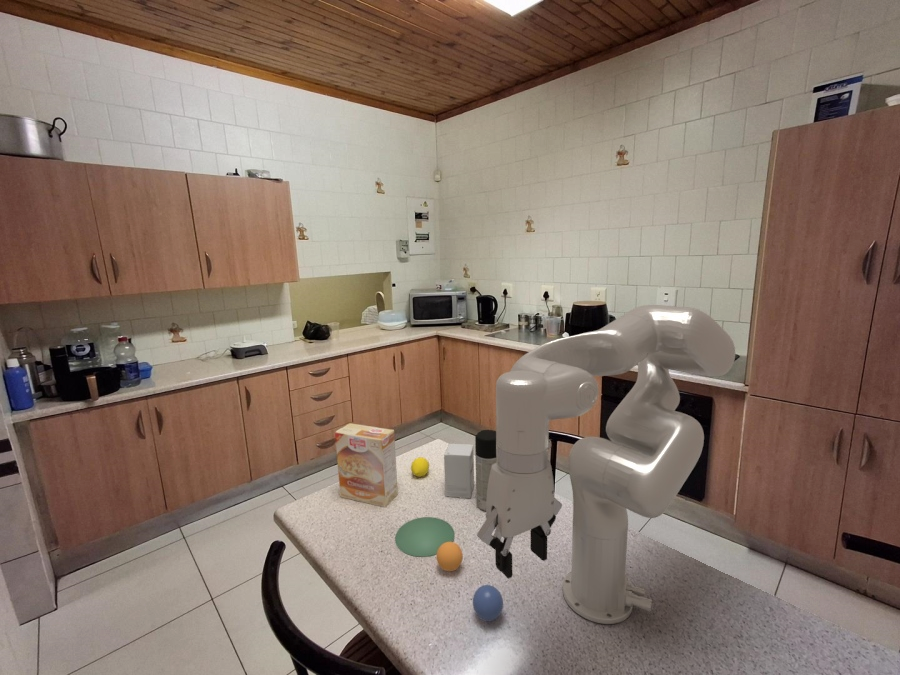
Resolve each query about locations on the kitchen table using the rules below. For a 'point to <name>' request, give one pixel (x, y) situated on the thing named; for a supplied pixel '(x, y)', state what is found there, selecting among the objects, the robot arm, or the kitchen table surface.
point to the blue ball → (487, 602)
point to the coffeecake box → (367, 464)
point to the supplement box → (459, 470)
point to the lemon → (420, 466)
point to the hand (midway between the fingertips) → (521, 562)
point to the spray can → (484, 463)
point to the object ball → (449, 556)
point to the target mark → (423, 536)
